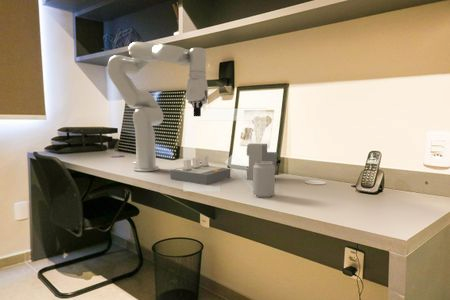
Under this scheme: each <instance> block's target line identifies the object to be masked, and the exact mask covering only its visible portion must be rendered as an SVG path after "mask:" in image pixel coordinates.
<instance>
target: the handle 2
mask: <svg viewBox="0 0 450 300" xmlns="http://www.w3.org/2000/svg"><path fill="white" fill-rule="evenodd" d="M200 166H210V164H209V156H208V155H202V156H201V158H200Z"/></svg>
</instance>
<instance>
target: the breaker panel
mask: <svg viewBox="0 0 450 300" xmlns="http://www.w3.org/2000/svg"><path fill="white" fill-rule="evenodd" d="M192 167H193V165H191V169H192V170H183V169H184V166H183V167H180V168H174V169H170V179H171V180H175V181H180V182H186V183H187V182H188V183H193V184H198V185H199V184H200V185H206V186H207V185H212V184H215V183H217V182H221V181H224V180H227V179H231V168H227V167H226V168H225V167H221V166H220V167H219V166H214V165H209V166H200V168H192Z"/></svg>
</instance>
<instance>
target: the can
mask: <svg viewBox="0 0 450 300" xmlns="http://www.w3.org/2000/svg"><path fill="white" fill-rule="evenodd" d="M275 177H276V172H275V166H274V165H273V162H270V161H257V162H255V165H254V166H253V180H252V185H253V186H252V194H253V195H256V196H255V197H257V196H258V197H257V198H261V197H268V198H271V196H272V197H273V196H274V195H275V193H276V192H275V190H276V189H275V186H276V185H275V183H276V182H275V181H276V180H275Z"/></svg>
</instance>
